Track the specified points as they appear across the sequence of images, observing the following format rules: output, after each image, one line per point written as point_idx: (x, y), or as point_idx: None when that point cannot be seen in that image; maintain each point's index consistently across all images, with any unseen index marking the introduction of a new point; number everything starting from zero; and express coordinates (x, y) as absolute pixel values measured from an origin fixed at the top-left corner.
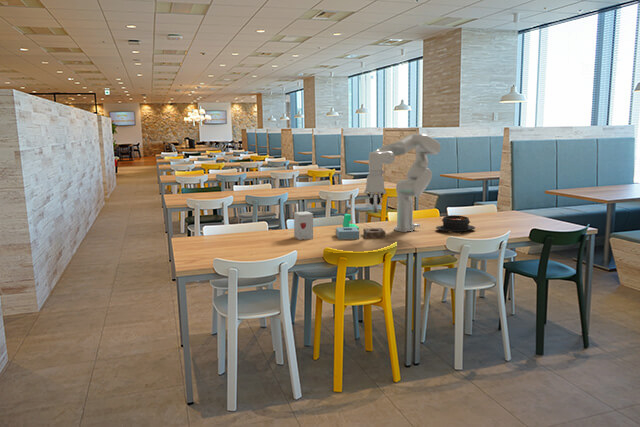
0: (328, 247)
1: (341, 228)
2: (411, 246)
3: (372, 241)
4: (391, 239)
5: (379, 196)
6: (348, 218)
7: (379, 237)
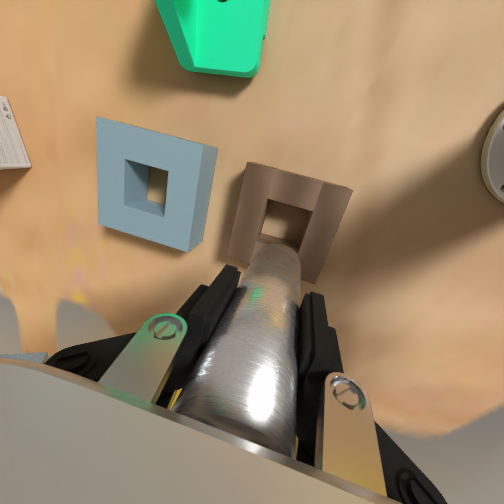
0: (81, 300)
1: (118, 158)
2: None
3: None
4: None
5: (305, 451)
6: None
7: None
